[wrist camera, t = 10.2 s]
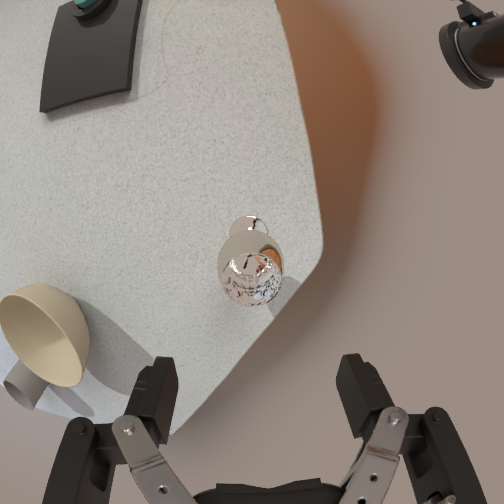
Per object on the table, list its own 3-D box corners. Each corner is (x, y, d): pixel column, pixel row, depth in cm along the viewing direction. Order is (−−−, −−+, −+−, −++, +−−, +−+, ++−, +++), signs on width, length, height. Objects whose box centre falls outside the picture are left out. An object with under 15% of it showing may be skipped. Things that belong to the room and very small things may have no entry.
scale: (64, 7, 18) (54, 1, 15) (147, -22, 19) (140, -32, 16) (45, 112, 25) (32, 111, 22) (131, 89, 25) (120, 85, 22)
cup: (35, 349, 39) (12, 380, 30) (58, 378, 42) (39, 410, 32) (19, 353, 40) (-2, 380, 30) (40, 380, 43) (22, 408, 33)
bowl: (50, 340, 38) (24, 374, 28) (23, 261, 32) (-15, 289, 23) (119, 353, 38) (98, 397, 29) (95, 264, 33) (56, 300, 23)
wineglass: (259, 264, 33) (267, 321, 22) (216, 245, 32) (202, 295, 21) (282, 223, 32) (302, 264, 20) (237, 201, 31) (233, 232, 19)
